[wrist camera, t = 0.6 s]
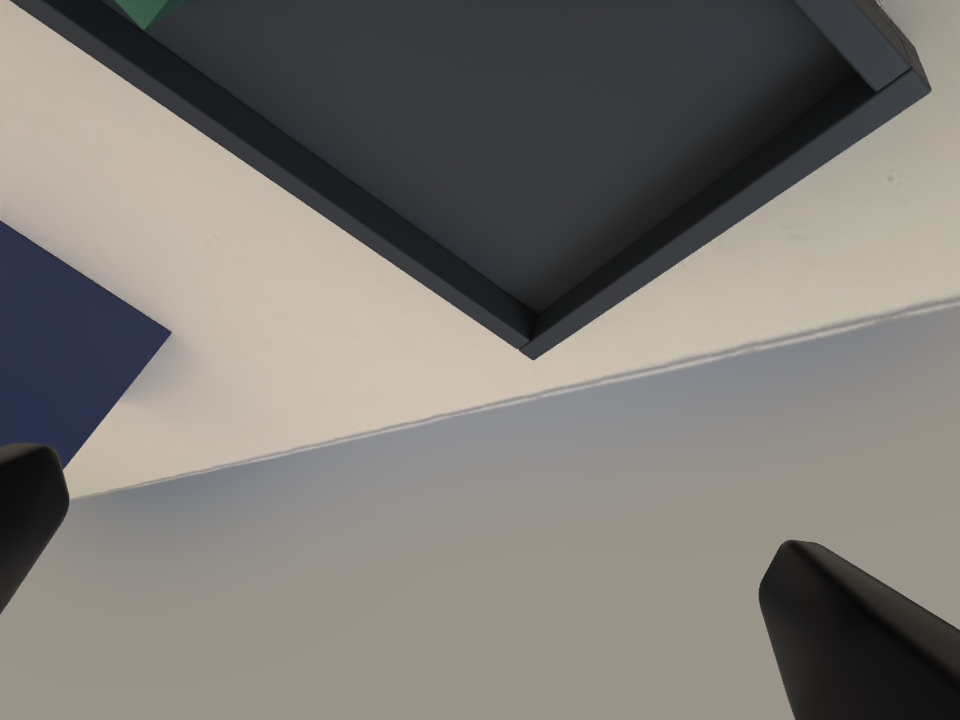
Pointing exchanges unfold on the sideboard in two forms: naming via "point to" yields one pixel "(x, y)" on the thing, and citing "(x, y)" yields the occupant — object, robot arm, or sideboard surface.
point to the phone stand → (62, 348)
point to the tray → (519, 125)
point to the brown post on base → (148, 10)
